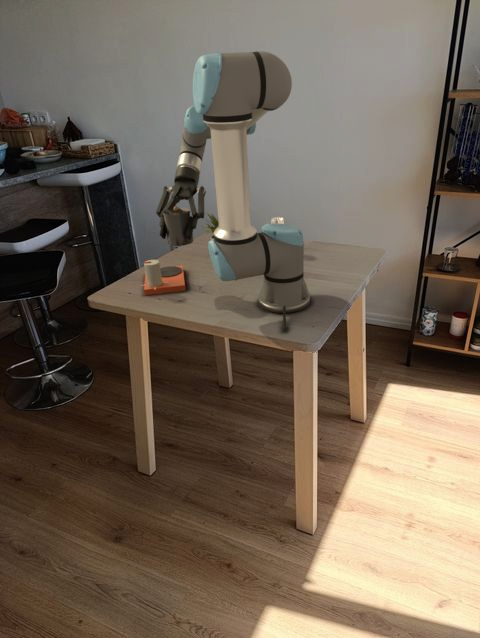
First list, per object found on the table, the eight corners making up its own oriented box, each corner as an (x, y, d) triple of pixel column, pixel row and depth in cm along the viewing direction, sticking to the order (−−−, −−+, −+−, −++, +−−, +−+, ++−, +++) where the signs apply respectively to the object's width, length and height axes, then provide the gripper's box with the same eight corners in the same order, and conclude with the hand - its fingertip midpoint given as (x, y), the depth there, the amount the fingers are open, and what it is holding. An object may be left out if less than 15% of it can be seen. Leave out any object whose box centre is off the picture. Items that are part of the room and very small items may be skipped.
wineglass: (282, 246, 188) (281, 216, 182) (288, 250, 183) (287, 219, 177) (268, 249, 186) (267, 218, 180) (274, 253, 182) (273, 222, 175)
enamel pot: (194, 244, 149) (190, 208, 144) (167, 247, 148) (162, 211, 142) (193, 236, 156) (188, 201, 151) (167, 239, 155) (161, 204, 149)
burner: (182, 275, 162) (182, 274, 162) (155, 278, 161) (154, 277, 160) (181, 265, 170) (181, 265, 169) (155, 268, 168) (155, 268, 168)
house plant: (204, 245, 193) (199, 204, 185) (238, 244, 193) (235, 203, 184) (200, 258, 181) (195, 215, 173) (236, 256, 181) (233, 213, 172)
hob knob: (162, 280, 159) (158, 258, 155) (162, 286, 155) (158, 263, 151) (147, 282, 158) (143, 259, 154) (147, 287, 154) (143, 264, 150)
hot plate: (185, 291, 155) (184, 285, 154) (141, 297, 153) (140, 290, 152) (183, 270, 171) (182, 264, 170) (143, 275, 169) (142, 269, 168)
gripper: (222, 179, 154) (211, 243, 149) (162, 179, 159) (149, 241, 154) (215, 164, 147) (203, 232, 142) (153, 165, 152) (139, 230, 147)
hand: (175, 237), depth 148 cm, fingers closed on enamel pot, 8 cm apart
